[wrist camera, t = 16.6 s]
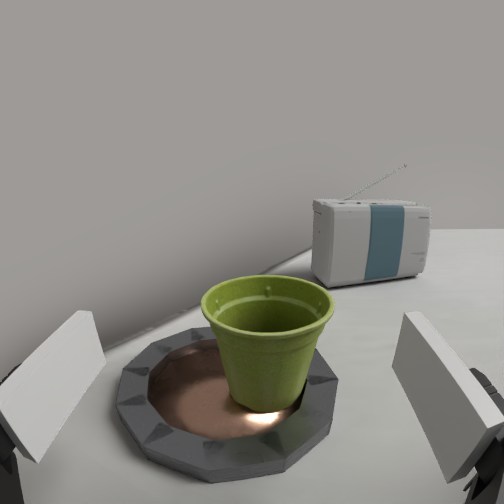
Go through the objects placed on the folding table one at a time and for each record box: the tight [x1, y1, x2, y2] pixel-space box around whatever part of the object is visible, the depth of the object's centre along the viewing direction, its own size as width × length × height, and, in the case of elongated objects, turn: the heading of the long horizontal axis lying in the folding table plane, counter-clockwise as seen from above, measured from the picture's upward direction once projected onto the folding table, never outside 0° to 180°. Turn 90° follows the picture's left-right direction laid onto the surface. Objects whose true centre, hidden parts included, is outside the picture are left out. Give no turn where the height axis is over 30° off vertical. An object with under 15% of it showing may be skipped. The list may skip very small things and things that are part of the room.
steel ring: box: [115, 327, 338, 483], centre depth 24 cm, size 18×18×2 cm
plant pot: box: [201, 275, 335, 412], centre depth 23 cm, size 9×9×9 cm
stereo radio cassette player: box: [311, 164, 431, 288], centre depth 48 cm, size 21×8×20 cm, turn 102°
